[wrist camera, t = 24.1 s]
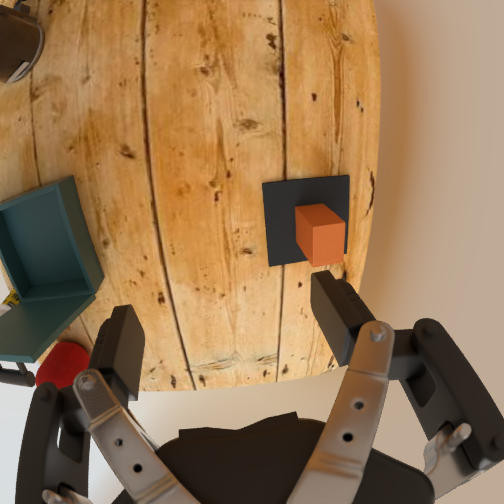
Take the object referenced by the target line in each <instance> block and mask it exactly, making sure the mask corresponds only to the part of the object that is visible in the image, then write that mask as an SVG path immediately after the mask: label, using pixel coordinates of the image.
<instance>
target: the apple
mask: <svg viewBox="0 0 504 504" xmlns="http://www.w3.org/2000/svg"><path fill="white" fill-rule="evenodd" d="M89 361H90V357H89V355H88V354H87V352H86V351H85V349H84V348H82V347H81V346H80V345H79V344H76V343H72V342H61V343H58V344H56V345H55V346H54V348H53V349H52V350H51V352H50V353H49V355H48V356H47V357H46V359H45V360H44V362H43V363H42V365H41V366H40V368H39V369H38V371H37V374H36V378H35V380H36V382H35V383H36V386H37V387H38V386H39V385H40V384H42V383H44V382H52V383H54V384H55V385H56V386H57V388H58V389H59V388H63V387H66V386H69V385H72V384H73V381H74V379H75V377H76V376H77V375H78V374H79V373H80V372H81V371H83V370H86V369H87V368H88V365H89Z"/></svg>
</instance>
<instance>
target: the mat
mask: <svg viewBox="0 0 504 504" xmlns="http://www.w3.org/2000/svg"><path fill="white" fill-rule="evenodd" d="M349 183H350V176H349V175H342V176H329V177H317V178H306V179H296V180H286V181H277V182H269V183H262V189H263V201H264V212H265V224H266V236H267V248H268V261H269V267H271V266H277V265H283V264H289V263H295V262H301V261H307V260H308V259H307V258H306V256H305V255H304V253H303V251H302V250H301V248H300V247H299V245H298V244H297V242H296V219H295V207H297V206H305V205H313V204H322V203H323V204H324V205H326V206H327V207H328V208H329V209H330V210H332V211H333V212H334V213H335V214H336V215H337V216H339V217H340V218H341V219H342V220H343V221H344V222H345V241H344V254H347V239H348V220H349Z"/></svg>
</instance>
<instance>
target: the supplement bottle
mask: <svg viewBox="0 0 504 504" xmlns="http://www.w3.org/2000/svg"><path fill="white" fill-rule="evenodd" d="M20 302H21V301H20V299H19V297H18V295H17V293H16V291H15V289H13V290H12V291H11V292H10V294H9V295H8V296H7V297H6V299H5V300H4V301H3V303H2V304H1V305H0V316H1V315H3V314H4V313H5V312H7V311H8V310H10V309H11V308H13V307H14V306H15V305H17V304H18V303H20Z"/></svg>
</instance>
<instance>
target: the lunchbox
mask: <svg viewBox="0 0 504 504" xmlns="http://www.w3.org/2000/svg"><path fill="white" fill-rule="evenodd" d="M0 258H1V260H2V263H3V265H4V267H5V270H6V272H7V274H8V276H9V278H10V281H11V283H12V285H13V287H14V289H15V291H16V293H17V295H18V297H19V299H20V301H21V302H29V301H37V300H46V299H54V298H62V297H70V296H78V295H86V294H96V293H97V291H98V289H99V287H100V285H101V283H102V281H103V279H104V278H105V277H104V274H103V272H102V269H101V266H100V264H99V261H98V258H97V255H96V252H95V250H94V247H93V244H92V241H91V238H90V235H89V232H88V228H87V225H86V222H85V219H84V215H83V212H82V208H81V205H80V201H79V197H78V193H77V190H76V186H75V181H74V177H73V175H72V176H69V177H66V178H63V179H60V180H57V181H54V182H51V183H48V184H45V185H42V186H40V187H37V188H34V189H32V190H29V191H26V192H24V193H21V194H19V195H16V196H14V197H11V198H9V199H7V200H4V201H2V202H0Z"/></svg>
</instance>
